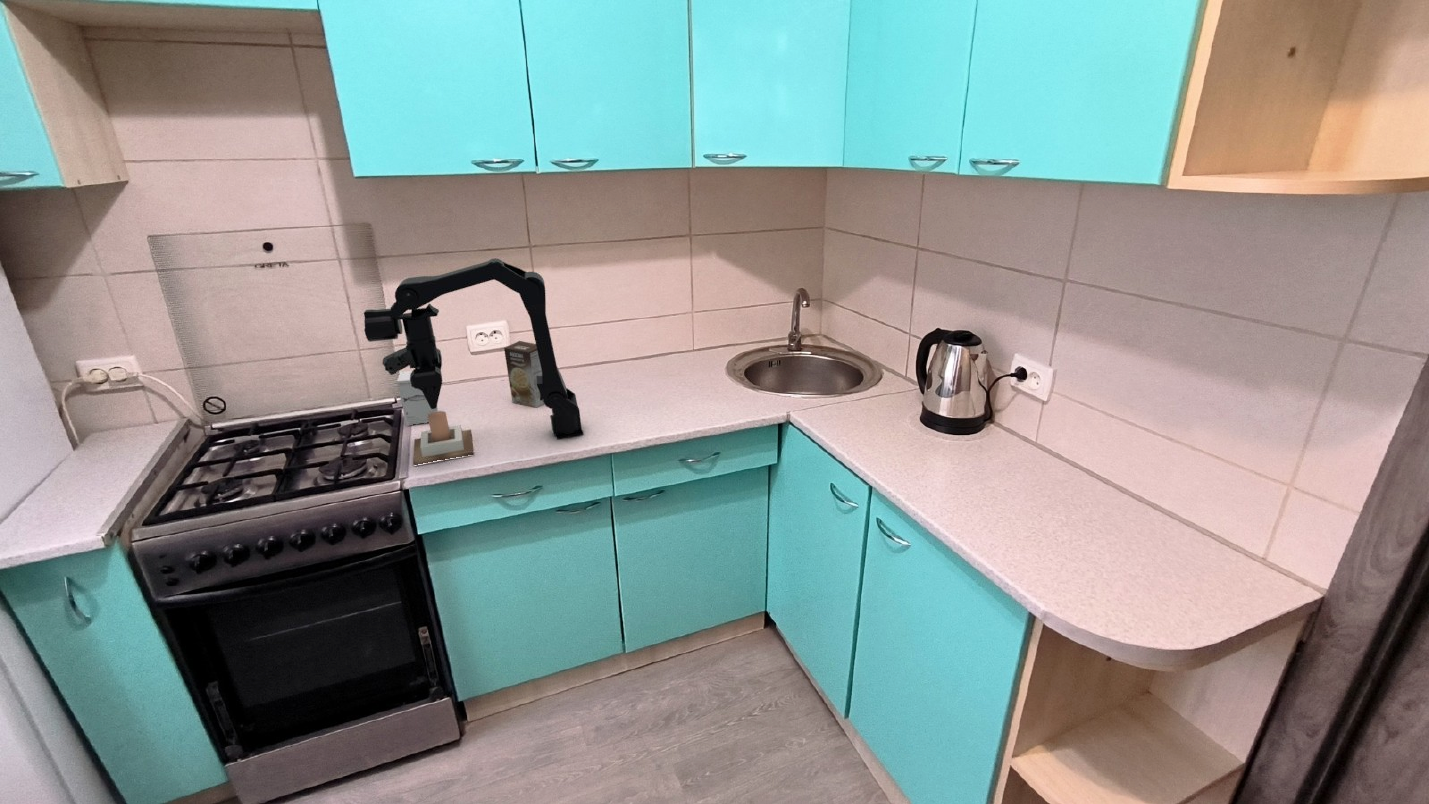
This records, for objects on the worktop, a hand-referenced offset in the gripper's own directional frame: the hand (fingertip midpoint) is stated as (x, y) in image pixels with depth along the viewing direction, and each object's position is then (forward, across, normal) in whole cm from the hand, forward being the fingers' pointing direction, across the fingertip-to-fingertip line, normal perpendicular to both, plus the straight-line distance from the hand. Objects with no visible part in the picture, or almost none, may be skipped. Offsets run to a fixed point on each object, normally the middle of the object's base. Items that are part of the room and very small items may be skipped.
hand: (433, 401), depth 155 cm
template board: (+12, 0, 0) cm, 12 cm away
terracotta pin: (+11, 0, 0) cm, 11 cm away
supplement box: (+13, -21, -5) cm, 25 cm away
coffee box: (+13, -21, +23) cm, 34 cm away
